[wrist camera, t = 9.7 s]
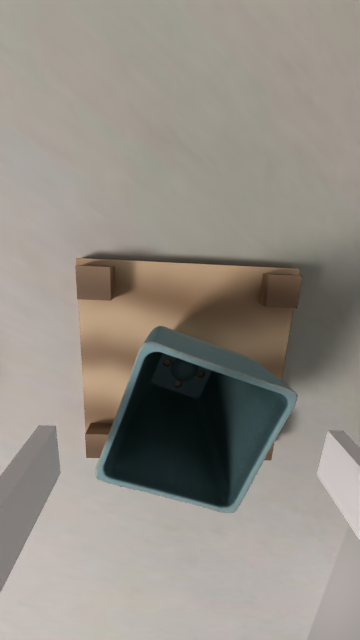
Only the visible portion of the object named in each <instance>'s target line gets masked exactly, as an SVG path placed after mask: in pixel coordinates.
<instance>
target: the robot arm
mask: <svg viewBox="0 0 360 640" xmlns="http://www.w3.org/2000/svg"><path fill="white" fill-rule="evenodd" d="M59 475H60V463H59V453H58V443H57V434H56V426H38V427H37V429H36V430H35V431H34V433H33V434H32V435H31V437H30V438H29V439H28V440H27V442H26V443H25V444H24V446H23V447H22V448H21V450H20V451H19V452H18V454H17V455H16V456H15V457H14V459H13V460H12V461H11V463H10V464H9V465H8V467H7V468H6V469H5V471H4V472H3V473H2V475H1V476H0V592H1V590H2V588H3V586H4V584H5V582H6V580H7V578H8V576H9V574H10V572H11V570H12V568H13V566H14V564H15V562H16V560H17V558H18V556H19V554H20V552H21V550H22V548H23V546H24V544H25V542H26V541H27V539H28V537H29V535H30V533H31V531H32V529H33V527H34V525H35V523H36V521H37V519H38V517H39V515H40V513H41V511H42V509H43V507H44V505H45V503H46V501H47V499H48V497H49V495H50V493H51V491H52V489H53V487H54V485H55V483H56V481H57V479H58V477H59ZM317 476H318V477H319V479H320V480H321V482H322V483H323V485H324V486H325V488H326V490H327V491H328V493H329V494H330V496H331V497H332V499H333V500H334V502H335V503H336V505H337V506H338V508H339V509H340V511H341V512H342V514H343V516H344V517H345V519H346V520H347V522H348V523H349V525H350V526H351V528H352V529H353V531H354V532H355V534H356V535H357V537H358V538H359V540H360V448H359V447H358V446H357V445H356V444H355V443H354V442H353V441H352V440H351V438H350V437H349V436H348V435H347V434H346V433H345V432H344V431H333V430H328V432H327V436H326V440H325V444H324V448H323V452H322V456H321V460H320V465H319V469H318V473H317Z"/></svg>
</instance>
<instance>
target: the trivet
mask: <svg viewBox="0 0 360 640" xmlns="http://www.w3.org/2000/svg"><path fill="white" fill-rule="evenodd" d="M299 272H300V269H296V268H278V267H257V266H236V265H216V264H195V263H174V262H154V261H133V260H112V259H92V258H76V283H77V299H78V303H79V321H80V338H81V356H82V374H83V392H84V409H85V427H86V434H85V440H86V457H87V458H100V456H101V453H102V450H103V448H104V445H105V443H106V440H107V437H108V435H109V432H110V429H111V427H112V424H113V422H114V419H115V416H116V414H117V411H118V408H119V405H120V403H121V400H122V397H123V394H124V391H125V388H126V386H127V383H128V380H129V377H130V374H131V372H132V369H133V366H134V363H135V360H136V357H137V354H138V351H139V349H140V347H141V345H142V344H143V343H144V341H145V340H146V338H147V337H148V335H149V334H150V333H151V331H152V330H153V329H154V328H156V327H158V326H164V327H167V328H170V329H172V330H175V331H178V332H180V333H183V334H186V335H189V336H191V337H194V338H197V339H200V340H203V341H205V342H208V343H211V344H214V345H217V346H219V347H222V348H225V349H228V350H231V351H234V352H237V353H240V354H242V355H244V356H247V357H249V358H251V359H253V360H254V361H256V362H257V363H259V364H260V365H261V366H263V367H264V368H265V369H267V370H268V371H269V372H270V373H272V374H273V375H274V376H276V377H277V378H278V379H279V380H282V374H283V368H284V362H285V356H286V350H287V344H288V338H289V332H290V326H291V320H292V314H293V308H297V305H298V299H299V293H300V287H301V282H302V276H299ZM164 364H166V365H169V364H170V361H169V360H165V361H164ZM203 374H204V373H203V371H200V372H198V375H199V376H203ZM180 384H181V383H180V381H176V382H175V385H176V386H179V385H180ZM273 446H274V443H273V444H272V446H271V448H270V450H269V452H268V454H267V456H266V458H265V459H264V460H271V458H272V452H273Z"/></svg>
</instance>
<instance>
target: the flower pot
mask: <svg viewBox="0 0 360 640" xmlns="http://www.w3.org/2000/svg"><path fill="white" fill-rule="evenodd" d="M165 360H169V361H170V364H169V365H166V364H164V361H165ZM200 371H203V373H204V374H203V376H199V375H198V372H200ZM176 381H180V383H181V384H180V385H179V386H176V385H175V382H176ZM297 397H298V395H297V393H296V392H295V391H293V390H292V389H291V388H289V387H288V386H287V385H286V384H284V383H283V382H282V381H281V380H279V379H278V378H277V377H276V376H274V375H273V374H272V373H270V372H269V371H268V370H267V369H265V368H264V367H263V366H261V365H260V364H259V363H257V362H256V361H254V360H253V359H251V358H249V357H247V356H244V355H242V354H240V353H237V352H234V351H231V350H228V349H225V348H222V347H219V346H217V345H214V344H211V343H208V342H205V341H203V340H200V339H197V338H194V337H191V336H189V335H186V334H183V333H180V332H178V331H175V330H172V329H170V328H167V327H164V326H158V327H156V328H154V329H153V330H152V331H151V333H150V334H149V335H148V337H147V338H146V340H145V341H144V343H143V344H142V345H141V347H140V349H139V351H138V354H137V357H136V360H135V363H134V366H133V369H132V372H131V374H130V377H129V380H128V383H127V386H126V388H125V391H124V394H123V397H122V400H121V403H120V405H119V408H118V411H117V414H116V416H115V419H114V422H113V424H112V427H111V429H110V432H109V435H108V437H107V440H106V443H105V445H104V448H103V450H102V453H101V456H100V458H99V461H98V463H97V466H96V468H95V476H96V478H97V479H98V480H101V481H103V482H106V483H108V484H114V485H118V486H120V487H125V488H128V489H133V490H139V491H142V492H147V493H150V494H154V495H158V496H162V497H166V498H170V499H174V500H178V501H182V502H186V503H189V504H193V505H197V506H201V507H204V508H208V509H211V510H215V511H217V512H222V513H234V512H235V511H236V510H237V509H238V507H239V505H240V504H241V502H242V500H243V498H244V496H245V495H246V493H247V491H248V489H249V487H250V485H251V484H252V481H253V480H254V477H255V476H256V474H257V472H258V470H259V468H260V467H261V465H262V463H263V461H264V459H265V458H266V456H267V454H268V452H269V450H270V448H271V446H272V444H273V443H274V441H275V439H276V438H277V436H278V434H279V433H280V431H281V429H282V427H283V425H284V424H285V422H286V420H287V419H288V417H289V415H290V414H291V412H292V410H293V409H294V407H295V404H296V401H297Z"/></svg>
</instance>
